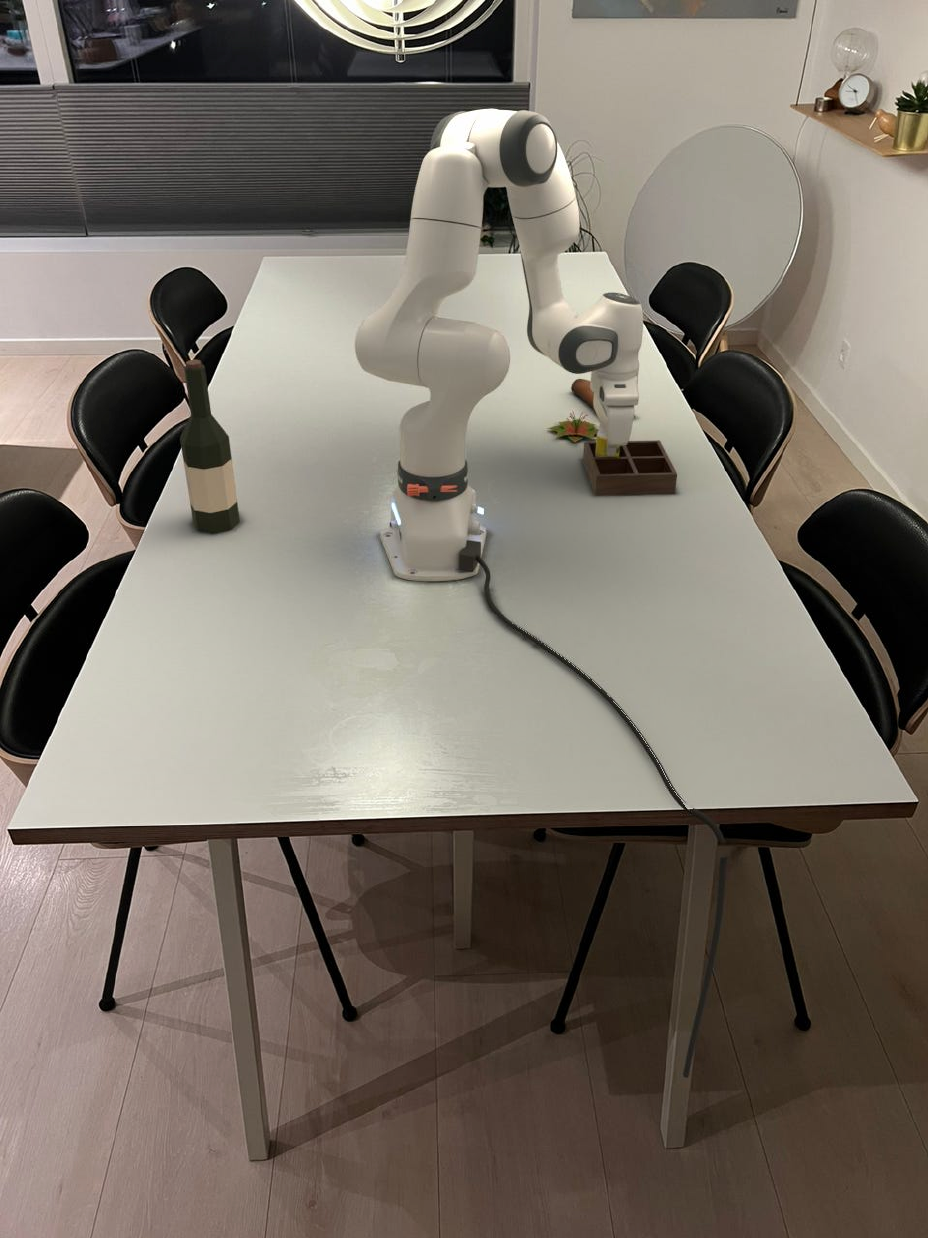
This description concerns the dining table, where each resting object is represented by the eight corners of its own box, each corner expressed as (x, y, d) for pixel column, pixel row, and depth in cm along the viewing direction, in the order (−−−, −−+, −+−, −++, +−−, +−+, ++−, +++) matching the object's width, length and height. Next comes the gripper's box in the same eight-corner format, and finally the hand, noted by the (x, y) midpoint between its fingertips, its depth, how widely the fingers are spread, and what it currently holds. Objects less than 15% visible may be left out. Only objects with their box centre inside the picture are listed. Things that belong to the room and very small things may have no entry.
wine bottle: (196, 512, 192) (172, 353, 175) (242, 510, 193) (222, 352, 176) (189, 534, 185) (163, 371, 169) (237, 533, 186) (215, 370, 169)
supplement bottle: (617, 468, 205) (621, 428, 200) (593, 466, 206) (596, 426, 201) (619, 458, 209) (623, 418, 204) (595, 456, 210) (599, 416, 205)
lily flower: (578, 417, 230) (579, 397, 227) (616, 435, 222) (618, 415, 219) (536, 430, 224) (537, 410, 221) (573, 449, 216) (575, 429, 213)
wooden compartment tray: (675, 493, 200) (677, 474, 197) (595, 495, 199) (596, 475, 197) (657, 458, 212) (659, 440, 210) (582, 460, 212) (584, 441, 209)
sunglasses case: (638, 416, 229) (627, 393, 225) (612, 435, 230) (600, 412, 225) (603, 387, 243) (591, 365, 239) (578, 405, 244) (566, 383, 240)
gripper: (588, 361, 207) (583, 426, 214) (606, 400, 190) (600, 470, 197) (620, 361, 207) (614, 426, 215) (641, 400, 190) (633, 469, 198)
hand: (607, 447), depth 206 cm, fingers closed on supplement bottle, 5 cm apart
